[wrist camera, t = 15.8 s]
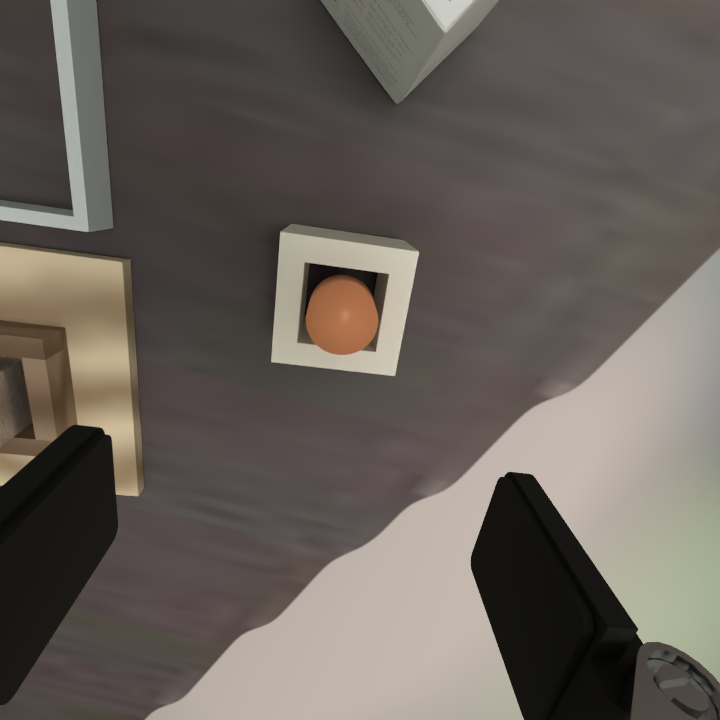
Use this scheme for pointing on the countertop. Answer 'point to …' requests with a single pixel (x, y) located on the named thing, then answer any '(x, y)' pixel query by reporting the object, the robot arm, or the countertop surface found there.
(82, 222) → the tote tray
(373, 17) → the small box
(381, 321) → the button post
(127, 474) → the plate
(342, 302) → the button
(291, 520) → the countertop surface
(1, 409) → the block
